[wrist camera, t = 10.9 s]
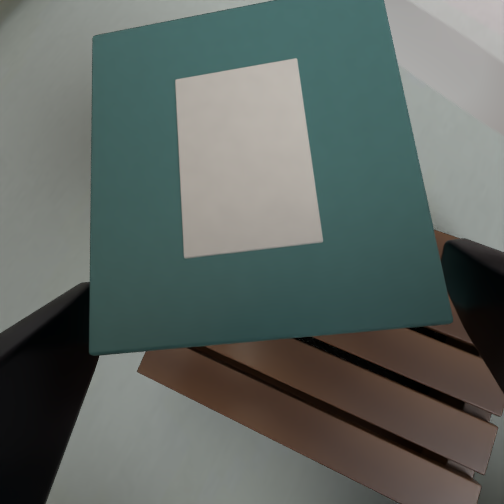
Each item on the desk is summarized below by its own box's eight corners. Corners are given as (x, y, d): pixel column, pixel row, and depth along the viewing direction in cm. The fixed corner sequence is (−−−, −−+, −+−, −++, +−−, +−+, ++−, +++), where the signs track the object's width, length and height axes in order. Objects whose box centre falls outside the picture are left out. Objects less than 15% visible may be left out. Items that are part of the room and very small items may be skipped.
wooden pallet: (425, 483, 18) (467, 538, 13) (169, 360, 21) (136, 371, 16) (488, 278, 19) (545, 266, 15) (243, 191, 22) (230, 160, 18)
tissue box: (345, 320, 16) (457, 323, 5) (222, 331, 16) (84, 357, 6) (326, 191, 17) (381, -26, 6) (213, 206, 18) (89, 32, 7)
